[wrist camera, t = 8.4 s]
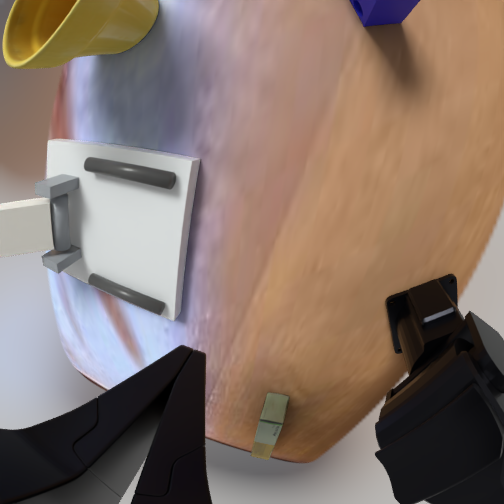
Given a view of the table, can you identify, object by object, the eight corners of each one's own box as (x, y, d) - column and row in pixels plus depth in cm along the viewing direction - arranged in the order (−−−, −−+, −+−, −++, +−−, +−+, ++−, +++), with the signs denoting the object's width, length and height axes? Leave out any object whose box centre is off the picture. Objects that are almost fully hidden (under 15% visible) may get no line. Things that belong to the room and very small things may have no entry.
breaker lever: (68, 198, 19) (-24, 211, 13) (71, 250, 21) (-14, 263, 15) (68, 191, 20) (-19, 203, 14) (70, 240, 23) (-11, 253, 17)
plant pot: (119, 97, 18) (21, 97, 9) (70, 45, 16) (-9, 39, 7) (207, 2, 13) (136, -59, 5) (138, -36, 12) (71, -72, 3)
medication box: (266, 389, 28) (258, 418, 24) (290, 394, 27) (285, 423, 24) (256, 434, 33) (249, 457, 29) (275, 438, 32) (269, 461, 29)
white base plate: (200, 158, 19) (166, 168, 14) (180, 311, 25) (156, 346, 20) (58, 138, 20) (20, 146, 16) (62, 261, 26) (33, 281, 22)
